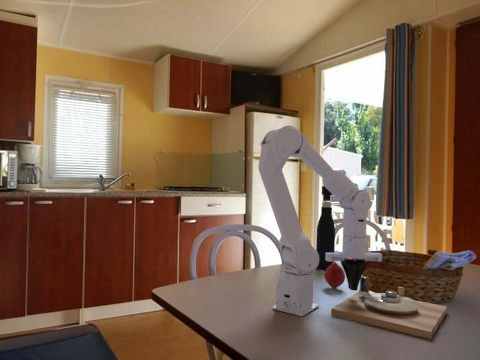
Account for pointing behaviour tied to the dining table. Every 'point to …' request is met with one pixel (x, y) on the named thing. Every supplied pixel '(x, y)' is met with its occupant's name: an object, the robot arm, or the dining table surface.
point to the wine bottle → (325, 231)
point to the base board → (393, 316)
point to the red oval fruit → (334, 275)
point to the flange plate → (386, 300)
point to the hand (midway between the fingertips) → (352, 289)
